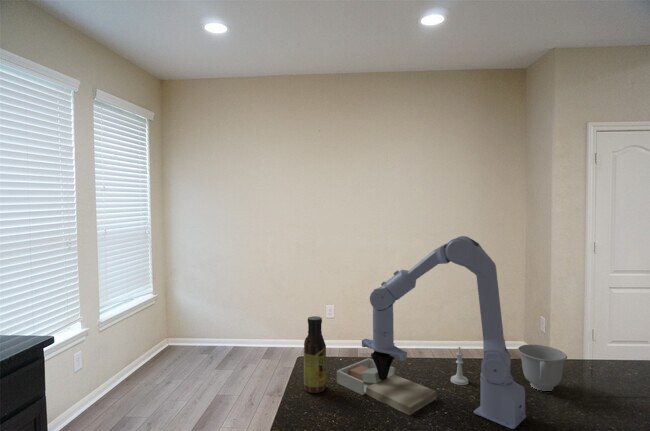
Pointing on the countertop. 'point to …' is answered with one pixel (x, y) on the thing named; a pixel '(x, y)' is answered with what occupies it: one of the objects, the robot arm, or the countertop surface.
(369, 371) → the tile sage
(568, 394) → the countertop surface
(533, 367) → the teacup
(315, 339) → the sauce bottle
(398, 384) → the board
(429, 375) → the countertop surface
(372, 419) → the countertop surface
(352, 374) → the tile terracotta
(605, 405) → the countertop surface
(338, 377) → the tray
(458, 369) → the chess piece
